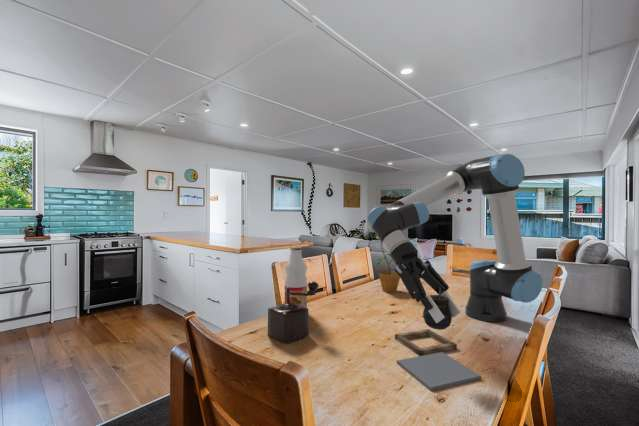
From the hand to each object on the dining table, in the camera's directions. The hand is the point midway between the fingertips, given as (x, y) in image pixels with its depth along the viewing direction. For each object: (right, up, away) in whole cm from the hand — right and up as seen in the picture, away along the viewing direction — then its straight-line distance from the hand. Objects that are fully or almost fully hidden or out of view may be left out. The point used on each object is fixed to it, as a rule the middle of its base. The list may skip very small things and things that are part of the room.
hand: (448, 317), depth 79 cm
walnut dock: (+1, -15, +20) cm, 25 cm away
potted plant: (+4, -15, +86) cm, 87 cm away
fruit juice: (-44, -15, +48) cm, 67 cm away
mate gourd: (-2, -4, +3) cm, 5 cm away
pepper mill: (-43, -15, +28) cm, 53 cm away
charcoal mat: (-2, -15, +3) cm, 16 cm away
